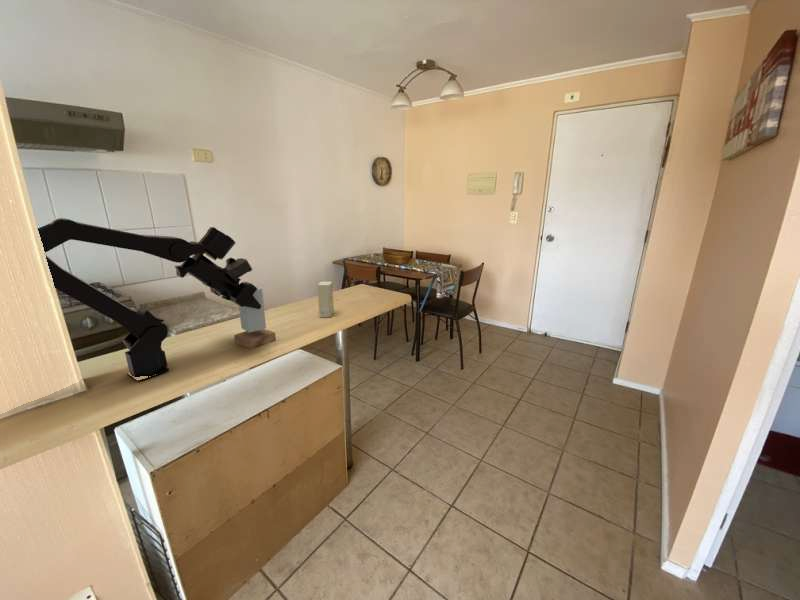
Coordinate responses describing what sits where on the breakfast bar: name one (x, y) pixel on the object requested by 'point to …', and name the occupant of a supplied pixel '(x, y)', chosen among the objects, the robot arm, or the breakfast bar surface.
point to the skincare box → (325, 299)
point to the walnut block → (254, 338)
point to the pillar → (253, 314)
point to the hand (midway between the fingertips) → (256, 305)
